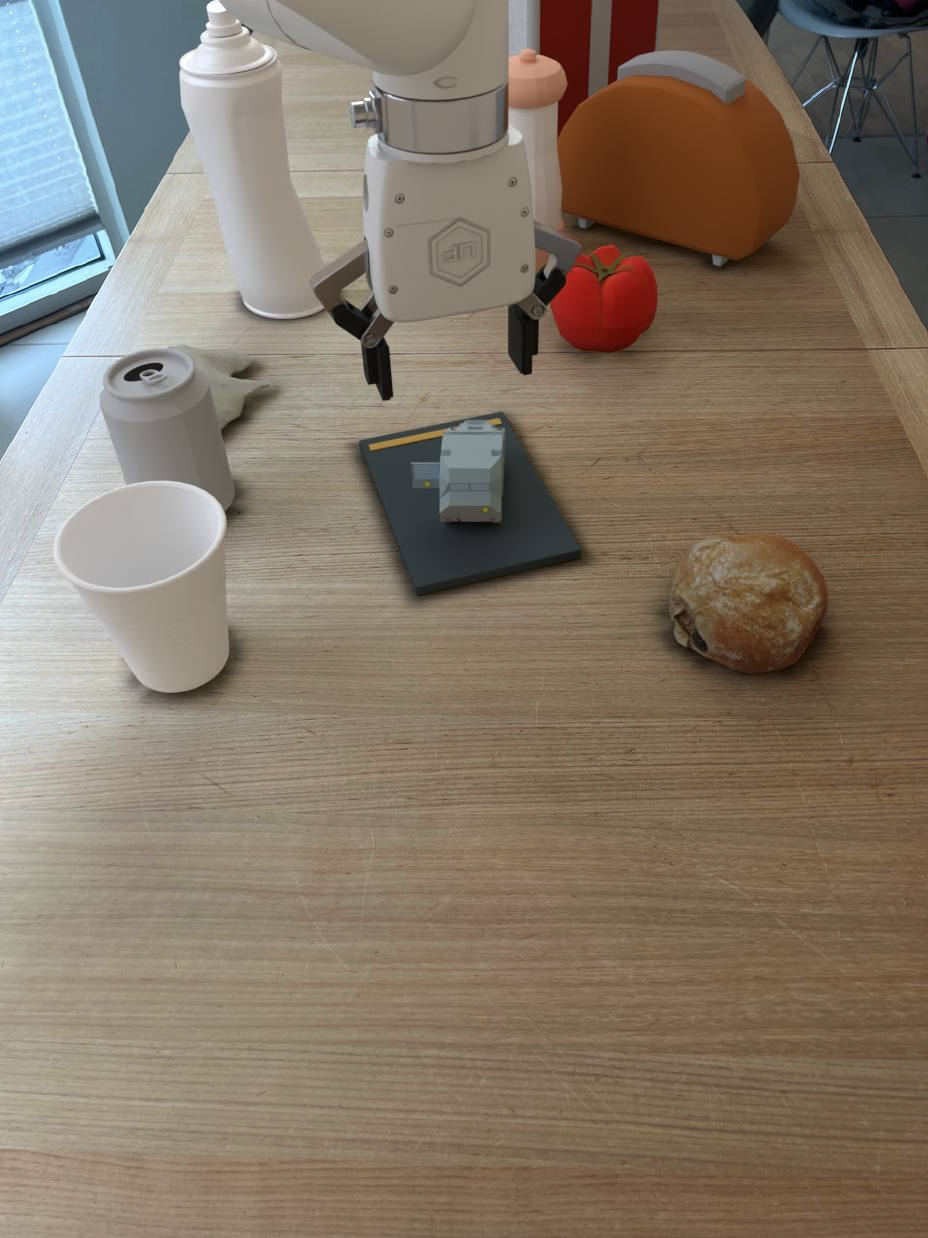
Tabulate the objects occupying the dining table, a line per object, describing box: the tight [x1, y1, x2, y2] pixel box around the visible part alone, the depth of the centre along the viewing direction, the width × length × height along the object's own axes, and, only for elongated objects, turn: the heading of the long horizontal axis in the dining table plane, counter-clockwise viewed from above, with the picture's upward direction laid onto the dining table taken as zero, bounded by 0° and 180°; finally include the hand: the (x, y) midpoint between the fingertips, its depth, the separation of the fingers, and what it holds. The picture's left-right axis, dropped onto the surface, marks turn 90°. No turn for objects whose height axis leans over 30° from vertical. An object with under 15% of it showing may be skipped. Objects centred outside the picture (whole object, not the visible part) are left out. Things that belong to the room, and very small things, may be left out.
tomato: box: [549, 244, 659, 354], centre depth 93 cm, size 9×9×8 cm
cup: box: [52, 481, 230, 694], centre depth 66 cm, size 10×10×11 cm
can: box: [99, 347, 236, 513], centre depth 77 cm, size 8×8×12 cm
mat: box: [358, 411, 582, 596], centre depth 80 cm, size 12×18×1 cm, turn 16°
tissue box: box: [509, 0, 663, 140], centre depth 117 cm, size 16×18×27 cm
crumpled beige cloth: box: [167, 344, 271, 431], centre depth 89 cm, size 12×3×15 cm
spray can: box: [178, 0, 326, 320], centre depth 95 cm, size 12×11×25 cm
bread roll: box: [668, 532, 829, 675], centre depth 68 cm, size 10×10×8 cm
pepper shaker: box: [508, 49, 567, 274], centre depth 100 cm, size 7×7×19 cm
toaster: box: [557, 49, 801, 267], centre depth 104 cm, size 23×9×17 cm, turn 53°
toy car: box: [411, 420, 505, 523], centre depth 78 cm, size 6×10×5 cm, turn 177°
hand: (452, 377), depth 72 cm, fingers open, 9 cm apart
